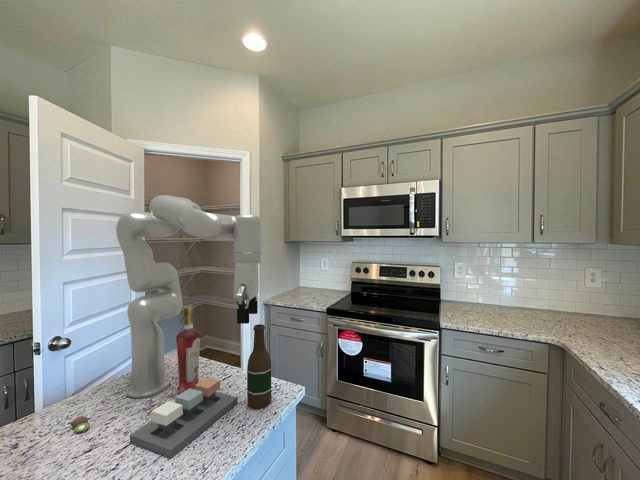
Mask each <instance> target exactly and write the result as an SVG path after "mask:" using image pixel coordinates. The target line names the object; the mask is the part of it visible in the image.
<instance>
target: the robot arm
mask: <svg viewBox="0 0 640 480" xmlns="http://www.w3.org/2000/svg"><path fill="white" fill-rule="evenodd" d="M149 211H150V212H146V211H132V212H131V211H130V212H126V213H124V214H123V215H121V216H120V217H119V219H118V220H117V223H116V227H115V229H116V230H115V234H116V239H117V242H118V244H119V246H120V249H121V251H122V255H123V259H124V266H125V271H126V278H127V284H128V286H129V289H130V291H132V292H134V293H144V292H145V293H146V292H150V291H151V292H152V291H159V292H158V293H152V294H148V295H143V296H140V297H136V298H135V299H133V300H132V301H131V302H130V303H129V304H128V307H127V309H126V310H127V317H128V321H129V326H130V337H131V338H130V339H131V341H130V342H131V345H130V346H131V373H130V374H129V375H127V376H126V379H127V380H129V381H130V385H129V386H128V387H127V388H126V390H125V394H126V396H127V397H129V398H131V399H141V398H142V399H143V398H148V397H151V396H154V395H157V394H159V393H162V392H163V391H165V390H166V389H167V388H168V387H169V385H170V379H169V377H166V376H165V334H164V332H163V331H164V330H163V329H162V328H161V327H160V325H159V324H158V322H161V321H163V320H168V319H171V318H173V317H176V316H177V315H179V314H180V313H181V312H182V310H183V296H182V291H181V290H182V289H181V286H180V285H181V284H180V281H179V280H180V279H179V278H180V277H179V274H178V271H177V270H176V268H175V266H173V265H172V264H171V263H169V262H155V259H154V253H153V250H152V248H151V246H150V245H149V244H148V243H147V241H145V240H144V239H143V238H166V237H171V236H173V235H175V234H176V233H178V231H180V230H181V229H182V231H183V232H185V233H186V234H187V235H190V236H193V237H196V238H199V239H200V240H201V239H202V240H204V241H205V240H206V241H211V242H212V241H213V242H214V241H215V242H217V241H227V242H229V241H233V264H234V265H235V267H234V278H233V299H234V300H235V301H236V324H238V325H239V324H240V325H241V324H243V325H244V324H247V325H248V324H249V323H250V315H257V314H258V313H259V311H258V309H259V308H258V307H259V306H258V305H259V304H258V301H259V300H258V293H259V285H260V284H259V281H260V280H259V265H260V264H261V263H262V220H261V217H260V216H259V215H255V214H237V215H230V214H222V213H221V214H220V213H211V212H207V211H204V210H202V209H201V206H200V205H199V204H198V203H195V202H193V201H192V200H191V199H189V198H186V197H180V196H173V195H166V194H165V195H164V194H163V195H158V196H155V197H154V198H152V200H151V201H150V203H149Z"/></svg>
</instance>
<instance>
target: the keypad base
mask: <svg viewBox="0 0 640 480" xmlns="http://www.w3.org/2000/svg"><path fill="white" fill-rule="evenodd" d="M238 401H239V400H238V396H235V395H230V394H227V393H223V392H218V391H216V392H215V397H213V398H212V399H210V400H209V401H205V400H203V401H202V402H200V403H199V404H198V409H196V410H195V411H194V412H192V413H191V414H189V415H188V414H185V413H183V415H181V416H180V417H178V418H177V424H175V425H174V426H173V427H171V428H170V429H168V430H167V431H166V430H163V429H160V428H158V423H155V422H152V420H151V421H149V422H148V423H146V424H145V425H143V426H142V427H140V428H138V429H136V430H135V431H134V432H132V433H131V434H129V444H132V445H134V446H137V447H140V448H142V449H144V450H148V451H150V452H152V453H155V454H157V455H160V456H162V457H166V458H167V459H170V460H171V459H173V458H174V457H175V456H176V455H178V454H179V453H181V451H182V450H183V449H185V448H186V447H187V446H189V444H190V443H192V442H194V440H195V439H197V438H199V436H200V435H202V434H203V433H205V431H206V430H208V429H209V428H210V427H211V426H212V425H213V424H215V423H216V422H217V421H218V420H220V419H221V418H222V417H223V416H224V415H225V414H226V413H228V412H229V411H230V410H232V409H233V408H234V407H235V406H237V405H238V403H239V402H238Z"/></svg>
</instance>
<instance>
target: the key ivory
mask: <svg viewBox="0 0 640 480" xmlns="http://www.w3.org/2000/svg"><path fill="white" fill-rule="evenodd" d="M181 415H183V405H181V404H178V403H175V401H170V400H168V401H166V402H164V403H163V404H161V405H160V406H158V407H156V408H155V409H154V410H152V411H151V421H152V422H155V423H158V428H160V429H163V430H166V431H167V430H168V429H170V428H171V427H173V426H174V425H175V424H177V418H178V417H180V416H181Z"/></svg>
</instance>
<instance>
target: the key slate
mask: <svg viewBox="0 0 640 480" xmlns="http://www.w3.org/2000/svg"><path fill="white" fill-rule="evenodd" d="M202 401H203V392H202V391H198V390H194V389H190V388H189V389H188V390H186V391H184V392H183V393H179V394H178V395H176V396H175V397H174V403H178V404H181V405H183V413H185V414H188V415H189V414H191V413H192V412H194V411H195V410H196V409H198V404H199V403H200V402H202Z"/></svg>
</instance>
